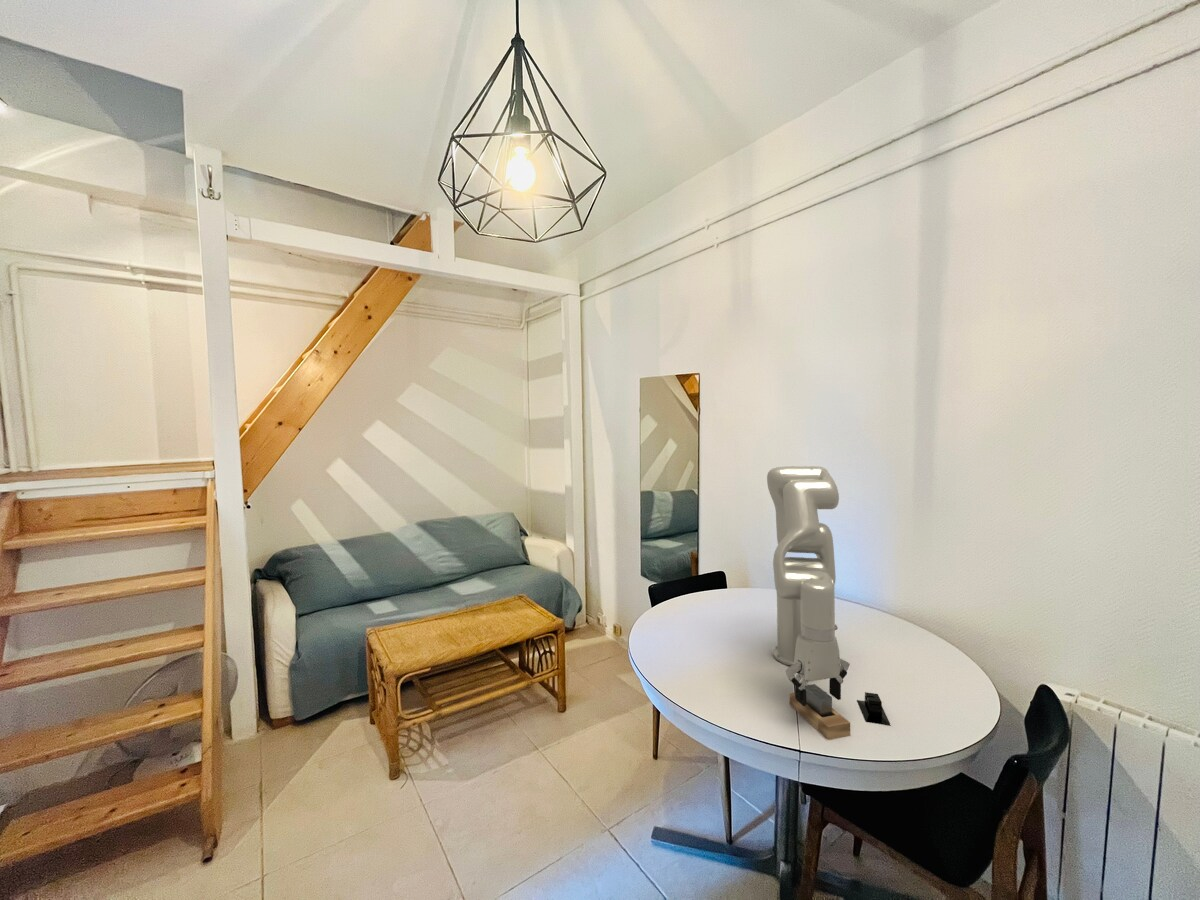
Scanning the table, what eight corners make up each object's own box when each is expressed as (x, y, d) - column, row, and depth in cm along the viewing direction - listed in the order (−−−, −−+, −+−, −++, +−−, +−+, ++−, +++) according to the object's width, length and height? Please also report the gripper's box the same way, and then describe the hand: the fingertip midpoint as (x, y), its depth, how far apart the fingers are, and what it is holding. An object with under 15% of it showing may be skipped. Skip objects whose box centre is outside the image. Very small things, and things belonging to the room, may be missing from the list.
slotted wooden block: (789, 704, 117) (789, 693, 117) (809, 700, 118) (809, 689, 118) (828, 739, 103) (828, 727, 103) (850, 735, 105) (850, 722, 104)
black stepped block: (852, 698, 120) (851, 681, 120) (883, 702, 118) (883, 685, 117) (863, 727, 108) (863, 709, 108) (898, 733, 106) (898, 714, 106)
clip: (804, 712, 113) (804, 685, 113) (814, 710, 114) (814, 683, 114) (821, 727, 107) (821, 699, 107) (832, 725, 108) (832, 697, 108)
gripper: (836, 621, 116) (837, 686, 116) (777, 629, 112) (777, 696, 112) (859, 633, 108) (859, 703, 109) (796, 642, 104) (797, 714, 105)
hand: (818, 699), depth 111 cm, fingers open, 9 cm apart
